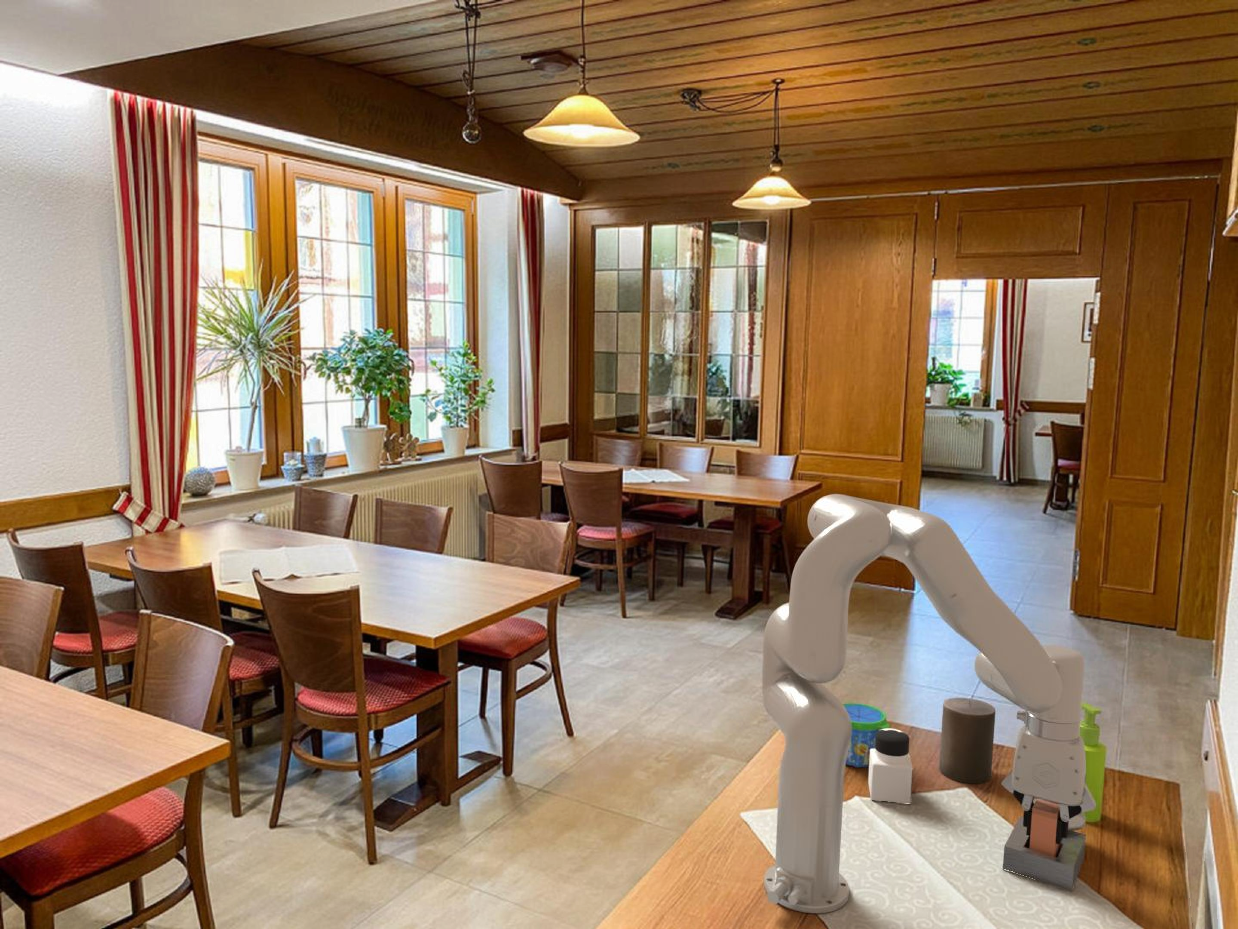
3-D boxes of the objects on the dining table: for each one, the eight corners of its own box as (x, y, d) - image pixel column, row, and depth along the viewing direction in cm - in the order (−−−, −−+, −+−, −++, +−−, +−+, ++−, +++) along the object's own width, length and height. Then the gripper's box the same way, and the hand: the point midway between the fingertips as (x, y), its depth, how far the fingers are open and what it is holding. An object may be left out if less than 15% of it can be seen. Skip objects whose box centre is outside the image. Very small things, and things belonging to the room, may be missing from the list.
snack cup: (905, 768, 179) (908, 719, 178) (872, 782, 173) (875, 731, 171) (842, 741, 191) (844, 694, 190) (809, 753, 185) (811, 706, 184)
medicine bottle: (911, 805, 164) (915, 742, 162) (870, 801, 165) (874, 738, 164) (906, 787, 171) (910, 726, 169) (868, 783, 172) (871, 723, 171)
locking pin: (1054, 860, 141) (1057, 814, 140) (1029, 852, 143) (1032, 807, 142) (1058, 850, 144) (1061, 805, 143) (1033, 842, 146) (1036, 798, 145)
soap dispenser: (1075, 801, 167) (1084, 697, 164) (1108, 819, 160) (1117, 711, 158) (1051, 806, 164) (1059, 701, 162) (1083, 824, 158) (1092, 715, 156)
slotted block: (1071, 891, 138) (1083, 754, 135) (1002, 869, 144) (1012, 737, 141) (1090, 840, 153) (1100, 715, 150) (1026, 822, 159) (1035, 702, 156)
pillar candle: (986, 788, 171) (992, 712, 169) (933, 775, 176) (938, 701, 174) (994, 770, 179) (1000, 697, 177) (944, 757, 184) (949, 686, 183)
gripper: (991, 720, 143) (984, 830, 145) (1109, 747, 133) (1099, 864, 136) (1002, 706, 149) (995, 811, 151) (1115, 731, 139) (1106, 843, 142)
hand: (1044, 835), depth 143 cm, fingers closed on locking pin, 3 cm apart
